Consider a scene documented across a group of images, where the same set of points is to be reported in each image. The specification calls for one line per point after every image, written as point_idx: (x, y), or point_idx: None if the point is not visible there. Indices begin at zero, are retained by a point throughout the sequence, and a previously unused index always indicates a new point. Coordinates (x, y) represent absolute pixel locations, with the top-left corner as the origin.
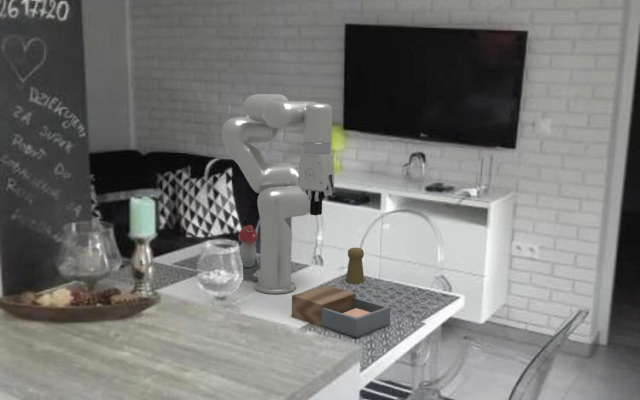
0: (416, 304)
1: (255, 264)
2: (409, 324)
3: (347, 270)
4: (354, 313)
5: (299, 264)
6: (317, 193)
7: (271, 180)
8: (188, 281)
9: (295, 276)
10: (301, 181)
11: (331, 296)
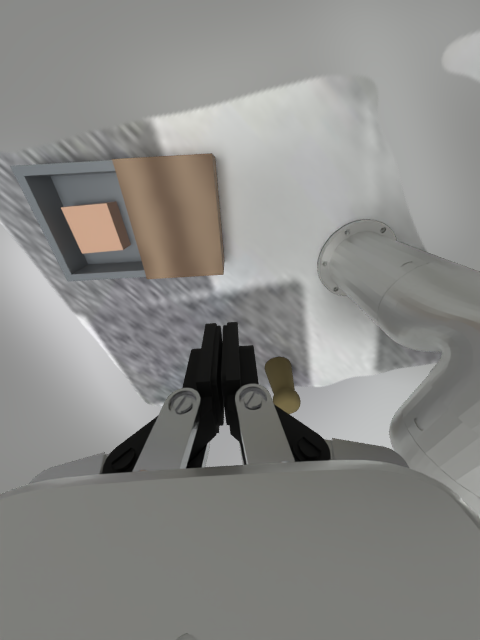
0: (150, 357)
1: None
2: (78, 294)
3: (289, 372)
4: (95, 223)
5: (392, 365)
6: (155, 456)
7: None
8: None
9: (363, 326)
10: (440, 616)
11: (155, 227)
